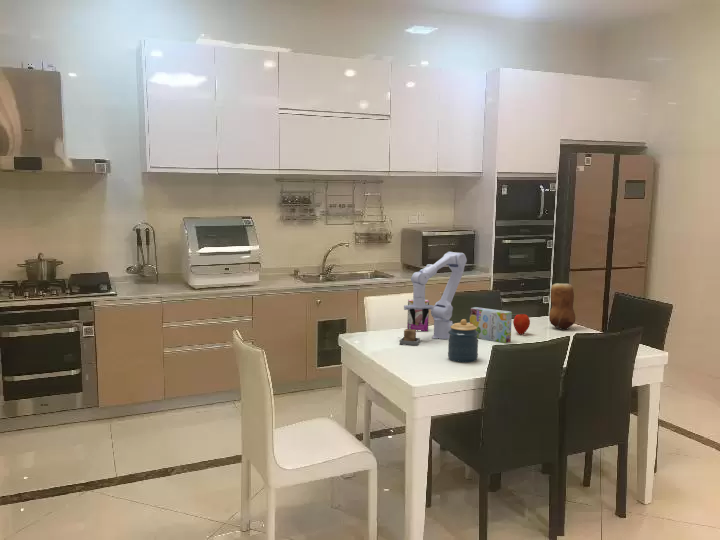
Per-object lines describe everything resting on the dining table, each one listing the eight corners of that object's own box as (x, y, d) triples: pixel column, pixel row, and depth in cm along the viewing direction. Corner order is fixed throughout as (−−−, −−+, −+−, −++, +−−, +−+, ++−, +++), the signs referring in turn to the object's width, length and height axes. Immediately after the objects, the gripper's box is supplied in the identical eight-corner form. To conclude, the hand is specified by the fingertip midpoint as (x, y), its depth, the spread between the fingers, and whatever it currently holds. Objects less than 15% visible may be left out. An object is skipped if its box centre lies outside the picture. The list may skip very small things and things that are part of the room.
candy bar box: (407, 331, 323) (407, 300, 322) (407, 329, 328) (407, 299, 327) (428, 331, 322) (429, 301, 321) (428, 329, 327) (429, 299, 326)
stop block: (415, 341, 297) (415, 329, 296) (414, 343, 293) (414, 331, 292) (405, 341, 298) (405, 328, 298) (403, 343, 294) (403, 330, 293)
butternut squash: (560, 325, 341) (562, 280, 338) (580, 329, 330) (582, 283, 327) (542, 327, 334) (544, 282, 331) (562, 332, 323) (564, 285, 320)
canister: (442, 356, 270) (443, 317, 268) (467, 354, 276) (468, 315, 274) (458, 364, 259) (459, 323, 257) (483, 361, 264) (485, 320, 262)
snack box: (511, 341, 301) (512, 311, 299) (505, 343, 297) (506, 313, 295) (474, 335, 315) (475, 306, 313) (468, 336, 311) (469, 307, 309)
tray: (420, 342, 298) (420, 338, 298) (417, 345, 291) (417, 341, 290) (402, 341, 300) (403, 337, 300) (399, 344, 293) (399, 340, 293)
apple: (525, 336, 311) (526, 316, 310) (509, 334, 317) (510, 314, 315) (532, 334, 318) (532, 313, 317) (516, 331, 323) (517, 311, 322)
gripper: (432, 295, 303) (431, 322, 304) (403, 295, 302) (402, 322, 303) (435, 297, 296) (434, 325, 297) (405, 297, 295) (405, 325, 296)
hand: (418, 324), depth 300 cm, fingers open, 4 cm apart
